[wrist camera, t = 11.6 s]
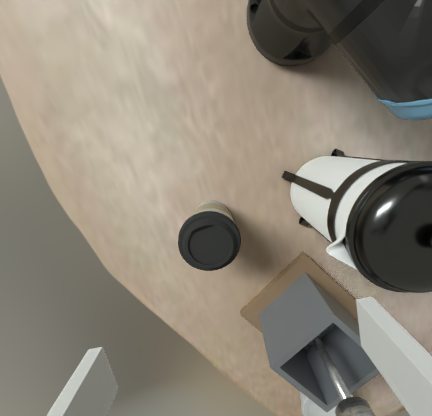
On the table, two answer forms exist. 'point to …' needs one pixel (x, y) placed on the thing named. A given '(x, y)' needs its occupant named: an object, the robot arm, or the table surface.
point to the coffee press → (371, 215)
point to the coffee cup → (209, 237)
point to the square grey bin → (310, 331)
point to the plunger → (340, 383)
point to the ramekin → (314, 408)
